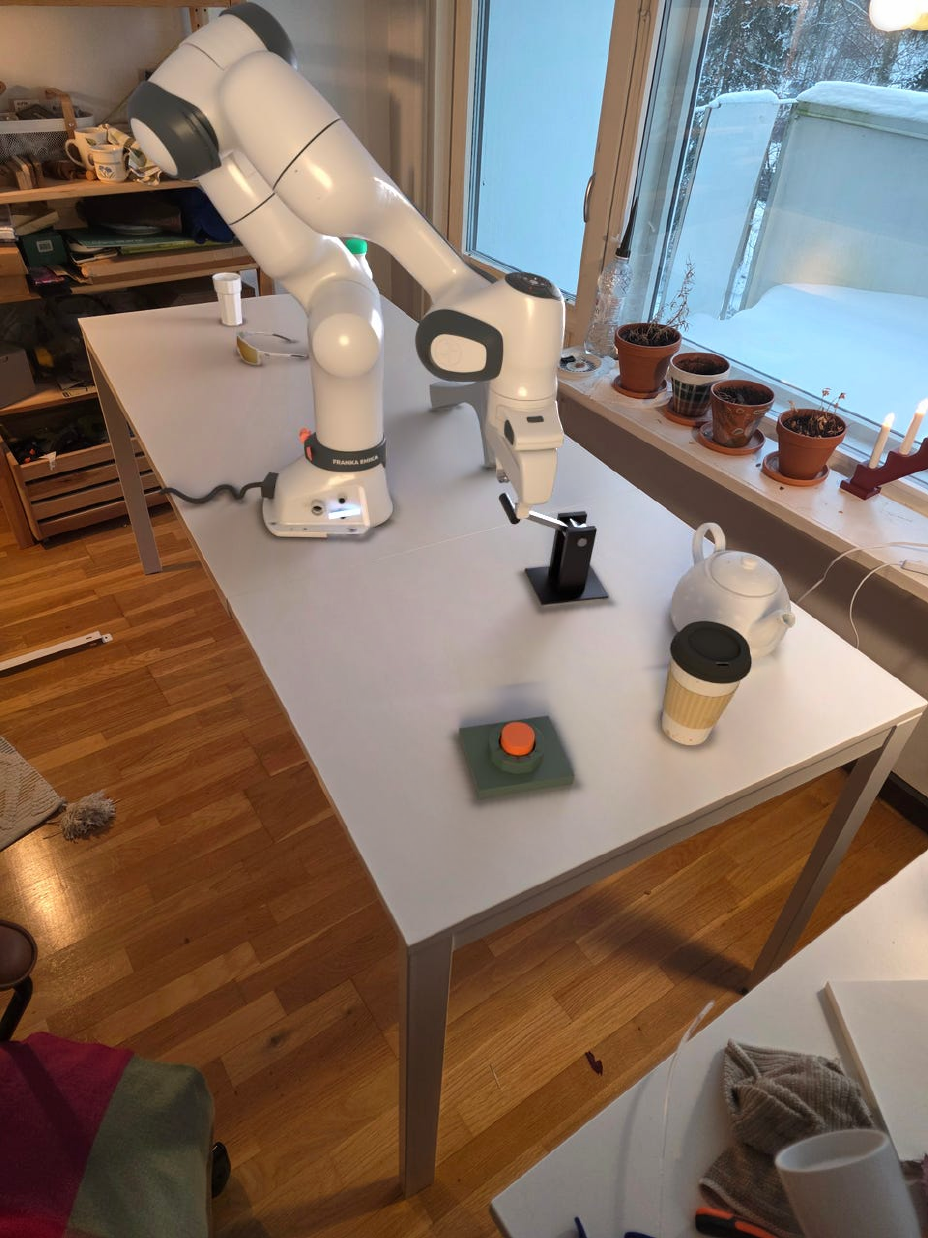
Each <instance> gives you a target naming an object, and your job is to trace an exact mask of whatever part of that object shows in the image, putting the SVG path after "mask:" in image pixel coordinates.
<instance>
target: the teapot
mask: <svg viewBox="0 0 928 1238" xmlns="http://www.w3.org/2000/svg"><path fill="white" fill-rule="evenodd" d="M708 530H709V531H710V533H712V536H713V539H714V548H713V549H714V550H713V552H712V554H710V555H709V556H707V557H706V558H704V547H703V542H704V537H705V535H706V533H707V531H708ZM691 546H692V547H691V549H692V550H691V551H692V559H693V565H692V566H691V567H689V568H688V569H687V570H686V571H685V572H684V574H682V576H681V577H680V578H679V580H678V581H677V584H676V585H675V587H674V590H673V591H672V596H671V600H670V607H669V608H670V609H669V611H670V612H669V613H670V619H671V621H672V624H673V626H674V628H675V630H676V631H677V633H678V632H679V631H681V630H682V629H683V628H684V627H685V626H686V625H688V624H690V623H693V622H697V621H712V622H717V623H721V624H724V625H726V626H728V627H731V628H732V629H734V630H736V631H737V632H738V633H740V634H741V635H742V636H743V637H744V638H745V639H746V641H747V643H748V644H749V647H750V654H751V657H752V661H754V660H758V659H761V658H763V657H765V656H767V655H769V654H771V653H772V652H773V651H774V650H775V649H776V648H777V647H778V646H779V645H780V643H781V642H782V641H783V639H784V638H785V636H786V633H787V632H788V629H789V628H792V627H794V625H795V624H796V616H795V614H794V613H792V605H791V600H790V596H789V592H788V589H787V588H786V586H785V584H784V582H783V578H782V576H781V574H780V573H779V571H778V570H777V569H776V568H775V567H774V566H773V565H772V564H770V563H769V562H768V561H767V560H765V559H764V558H762V557H760V556H758V555H756V554H752V553H749V552H745V551H739V550H726V536H725V533H724V531H723V529H722V528H721V526H720V525H719V524H718V523H715V522H706V523H702V524H701V525H699V526H698V528H697V529H696V530H695V532H694V534H693V538H692V545H691Z"/></svg>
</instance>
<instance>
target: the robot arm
mask: <svg viewBox="0 0 928 1238" xmlns="http://www.w3.org/2000/svg"><path fill="white" fill-rule="evenodd" d="M125 112H126V119H127V124H128V127H129V130H130V132H131V135H132V136H133V138H134V139H135V141H136V142H137V144H138V146H139V148H140V149H141V151H142V153H143V154H144V155H145V156H146V157H147V158H148V160H149V161H150V162H151V163H152V164H153V165H155V166H156V167H157V168H158V169H159V170H160V171H161V172H163V174H165V175H166V176H168V177H170V178H172V179H175V180H180V181H186V182H189V181H193V180H195V179H197V181H198V183H199V184H200V186H201V188H202V189H203V191H204V193H205V194H206V196H207V197H208V199H209V200H210V202H211V204H212V205H213V207H214V208H215V210H216V211H217V212H218V214H219V215H220V216H221V218H222V219H223V220H224V222H225V223H226V224H227V226H228V227H229V229H230V230H231V231H232V232H233V234H234V235H235V236H236V237H237V239H238V240H239V242H240V243H241V244H242V246H243V247H244V248H245V249H246V251H247V252H248V253H249V255H250V256H251V257H252V258H253V260H254V261H255V262H256V264H257V265H258V266H259V268H260V269H261V271H262V272H263V273H264V274H265V275H266V276H268V278H271V279H273V280H274V281H275V282H277V283H278V284H279V285H280V287H282V288H283V289H284V290H285V291H286V293H288V294H289V295H290V296H291V297H292V298H293V299H295V301H296V302H297V303H298V304H299V305H300V307H301V308H302V309H303V311H304V313H305V315H306V318H307V327H306V328H307V329H306V334H307V335H306V336H307V346H308V357H309V366H310V376H311V384H312V385H311V386H312V394H313V409H314V424H315V431H314V432H313V433H312V431H311V430H310V429H309V428H307V427H304V428H302V429H300V431H299V434H298V435H299V440H300V442H301V443H302V444H303V451H304V453H303V454H301V455H299V457H298V458H296V459H295V460H293V461H292V462H290V463H289V464H287V465H286V466H284V467H283V468H282V469H280V471H279V472H273V471H269V472H268V473H267V474H266V476H264V478H263V480H262V481H254V482H249V483H247V484H245V485H243V486H242V487H241V489H240V491H239V493H238V492H237V490H236V488H235V487H234V486H233V485H231V484H226V483H225V484H224V483H223V484H219V485H217V486H215V487H214V488H213V489H212V490H211V491H210V492H209V493H208V494H207V495H205V496H204V497H200V498H195V497H190V496H188V495H186V494H184V493H183V492H181V491H180V490H178V489H176V488H174V487H169V486H167V487H164V488H162V489H161V490H159V492H158V493H157V494H158V495H159V496H164V495H166V494H168V493H170V494H173V495H174V496H176V497H177V498H179V499H181V500H183V501H184V502H187V503H189V504H193V505H201V504H205V503H208V502H210V501H211V500H212V499H213V498H215V496H216V495H217V494H218V493H219V492H221V491H226V490H227V491H229V492H230V493H231V495H232V496H233V498H234V499H235V500H242V499H243V498H244V497H245V495H246V493H247V492H248V491H249V490H250V489H255V488H260V494H261V498H263V501H262V518H263V523H264V525H265V527H266V529H268V531H269V532H270V533H272V534H273V535H275V536H277V537H291V538H293V537H294V538H328V534H338V535H339V534H340V535H341V534H342V535H343V534H344V535H345V534H346V535H362V534H364V533H366V532H367V531H369V529H374V528H375V527H378V526H379V525H381V524H383V523H384V522H386V521H387V520H388V519H389V518H390V517H391V515H392V514H393V511H394V504H393V501H392V498H391V495H390V492H389V487H388V483H387V476H386V467H387V461H388V442H387V437H386V434H385V431H384V382H385V381H384V379H385V337H386V336H385V335H386V334H385V323H384V314H383V309H382V299H381V294H380V292H379V289H378V287H377V285H376V283H375V282H374V281H373V278H372V279H371V278H370V276H369V275H368V274H367V273H366V271H365V270H364V269H363V268H362V266H361V265H360V264H359V262H358V261H357V260H356V259H355V257H354V256H353V255H352V254H351V252H350V251H349V250H348V249H347V248H346V246H345V244H344V243H343V241H342V240H340V238H351V239H361V240H364V241H369V242H372V243H374V244H376V245H378V246H379V247H381V248H383V249H384V250H386V251H387V252H388V253H389V254H390V255H392V256H393V258H394V259H395V260H397V262H398V263H399V264H400V265H401V266H402V267H403V269H405V271H407V273H408V274H409V275H410V276H411V277H412V278H413V279H414V280H415V281H417V283H418V285H420V286H421V287H422V288H423V289H424V291H426V293H427V294H428V295H429V297H430V299H431V301H432V305H430V308H429V309H428V310H427V312H426V313H425V314H424V316H423V317H422V319H421V321H420V322H419V324H418V326H417V328H416V331H415V335H414V336H415V338H414V344H415V350H416V354H417V356H418V359H419V360H420V362H421V364H422V365H423V367H424V368H425V369H426V370H427V372H429V373H430V374H432V376H434V377H436V378H437V379H440V380H443V381H444V382H456V383H475V382H482V381H489V389H488V403H487V414H486V422H485V434H486V438H487V440H488V442H489V443H490V445H491V447H492V449H493V451H494V455H495V463H496V466H495V478H496V480H497V482H498V483H499V484H503V483H505V484H506V483H507V484H508V483H510V484H511V486H512V488H513V490H514V491H515V494H516V495H517V498H518V500H517V501H516V502H514V505H515V509H514V512H515V514H516V516H517V518H518V519H521V520H523V519H525V518H528V517H529V515H530V511H531V508H532V506H537V505H545V504H547V503H548V502H549V501H550V500H551V498H552V494H553V490H554V485H555V480H556V476H557V475H556V474H557V470H558V461H559V458H558V455H559V454H558V449H557V448H562V447H563V445H564V441H565V432H564V429H563V427H562V423H561V420H560V415H559V411H558V402H557V396H558V389H559V387H558V385H559V384H558V383H559V382H558V377H557V371H558V368H559V364H560V362H561V359H562V355H563V349H564V342H565V329H566V304H565V300H564V295H563V293H562V291H561V290H560V289H559V287H558V286H557V285H556V284H555V283H553V282H552V281H550V280H549V278H546V277H544V276H541V275H539V274H536V273H531V272H527V271H512V272H509V273H507V274H505V275H504V276H503V277H502V278H500V279H498V278H497V277H495V276H494V275H492V274H491V273H489V272H488V271H486V270H484V269H482V268H480V267H479V266H477V265H475V264H473V263H471V262H470V261H469V260H468V259H466V258H465V257H464V256H463V255H462V254H461V253H460V252H459V251H458V250H457V249H456V248H455V247H454V246H453V245H452V243H451V242H450V241H449V240H448V239H447V238H446V236H444V235H443V234H442V232H441V231H440V230H439V229H438V228H437V226H435V225H434V223H432V222H431V220H430V219H429V218H428V216H427V215H426V214H424V212H423V211H422V210H421V209H420V208H419V207H418V206H417V205H416V204H415V202H413V200H412V199H411V198H410V197H409V196H408V195H406V194H405V192H404V191H403V190H402V189H401V188H399V186H398V185H397V184H396V183H395V182H394V180H393V179H392V178H391V177H390V176H389V175H388V174H387V172H385V170H384V169H383V168H382V167H381V166H380V165H379V164H378V162H377V161H376V159H375V158H374V157H373V156H372V155H371V153H370V152H369V151H368V149H366V147H365V146H364V145H363V143H362V142H361V141H360V140H359V139H358V137H357V135H356V134H355V133H354V132H353V131H352V130H351V129H350V127H349V125H347V123H346V122H345V120H343V119H342V117H341V116H340V115H339V114H338V112H337V111H336V110H335V109H334V108H333V106H332V105H331V104H330V103H329V101H327V100H326V99H325V97H323V95H322V94H321V93H320V92H319V91H318V90H317V89H316V88H315V87H314V86H313V85H312V84H311V83H310V82H309V81H308V80H307V79H306V78H305V77H304V76H303V75H302V74H301V73H300V72H299V71H298V58H297V53H296V51H295V48H294V44H293V43H292V41H291V39H290V37H289V35H288V33H287V32H286V30H285V28H284V27H283V26H282V24H281V23H280V22H279V21H278V20H277V18H276V17H275V16H274V15H273V14H272V13H271V12H269V11H268V10H267V9H265V8H264V7H262V6H261V5H259V4H257V3H255V2H253V1H243V2H239V3H236V4H233V5H231V6H228V7H227V8H225V9H223V10H222V11H221V12H220V13H219V14H218V17H216V18H214V19H212V20H211V21H210V22H207V23H206V24H204V25H203V26H202V27H200V28H199V29H196V31H194V32H193V33H192V34H190V35H188V37H187V38H185V39H184V40H183V41H181V42H180V43H179V45H178V47H177V49H175V50H174V51H173V52H172V53H171V54H170V55H169V56H168V57H167V58H166V59H165V60H164V61H163V62H162V63H161V64H160V65H159V66H158V68H157V69H156V70H155V71H154V72H153V73H152V74H151V76H150V77H149V78H148V79H147V80H142V81H141V82H140V83H139V84H138V85H137V87H136V88H135V90H134V91H133V92H132V94H131V96H130V97H129V99H128V101H127V103H126V106H125Z"/></svg>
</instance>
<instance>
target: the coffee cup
mask: <svg viewBox="0 0 928 1238" xmlns="http://www.w3.org/2000/svg"><path fill="white" fill-rule="evenodd" d="M669 653H670V655H671V658H670V660H669V663H668V669H667V677H666V683H665V690H664V694H663V695H664V696H663V702H662V703H663V709H662V710H663V711H662V717H661V728H662V730H663V732H664V733H665V735H666V736H667V737H668V738H669V739H671V740H672V741H674V742H676V743H679V744H681V745H685V746H697V745H700V744H703V742H705V741H706V740H707V738H708V737H709V735H710V733H711V732H712V730H713V728H714V727H715V725H716V724H717V723H718V722H719V720H720V719H721V717H722V715H723V713H724V712H725V710H726V709H727V707H728V706H729V704H730V701H732V698H733V697H734V695H735V694H736V691H737V690H738V688H739V686H740V683H741V681H742V680H744V679H745V678H746V677H747V676H748V675H749V674H750V672H751V669H752V665H753V664H752V663H753V660H752V657H751V654H750V647H749V644H748V643H747V641H746V639H745V638H744V637H743V636H742V635H741V634H740V633H738V632H737V631H736V630H734V629H732V628H731V627H728V626H726V625H724V624H721V623H717V622H712V621H697V622H693V623H690V624H688V625H686V626H685V627H684V628H683V629H682V630H681V631H679V632H678V631H677V633H676V634H675V635H674V636H673V637H672V640H671V641H670V645H669Z"/></svg>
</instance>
